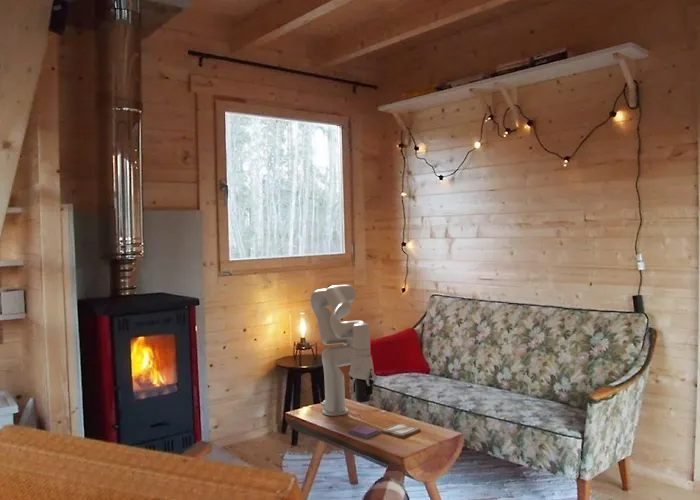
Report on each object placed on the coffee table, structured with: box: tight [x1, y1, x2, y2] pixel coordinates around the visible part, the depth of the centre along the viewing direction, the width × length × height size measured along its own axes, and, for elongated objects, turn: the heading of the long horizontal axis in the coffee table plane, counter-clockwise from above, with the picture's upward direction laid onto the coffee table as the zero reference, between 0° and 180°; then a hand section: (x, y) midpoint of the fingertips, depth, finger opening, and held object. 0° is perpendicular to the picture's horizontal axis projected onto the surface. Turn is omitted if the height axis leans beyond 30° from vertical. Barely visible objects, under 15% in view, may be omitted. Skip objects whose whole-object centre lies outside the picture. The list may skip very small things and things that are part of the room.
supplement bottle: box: [354, 379, 372, 403], centre depth 269 cm, size 7×7×12 cm
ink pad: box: [347, 425, 382, 440], centre depth 269 cm, size 11×9×2 cm
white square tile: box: [380, 422, 421, 439], centre depth 270 cm, size 12×12×1 cm
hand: (363, 392), depth 269 cm, fingers closed on supplement bottle, 6 cm apart
